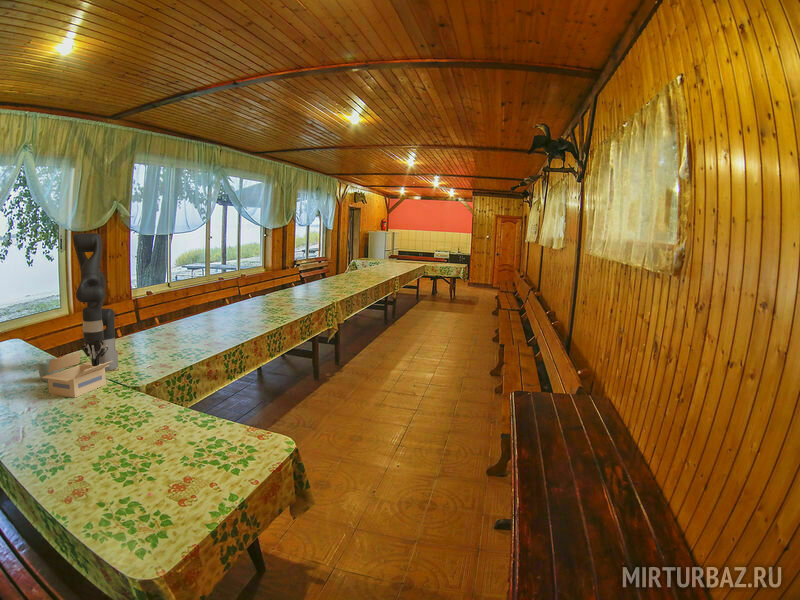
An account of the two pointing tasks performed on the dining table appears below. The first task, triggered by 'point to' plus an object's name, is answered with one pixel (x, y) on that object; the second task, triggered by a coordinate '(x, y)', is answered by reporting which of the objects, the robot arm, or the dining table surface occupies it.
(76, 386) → the carton
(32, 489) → the dining table surface
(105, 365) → the flap
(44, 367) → the cup
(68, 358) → the flap
